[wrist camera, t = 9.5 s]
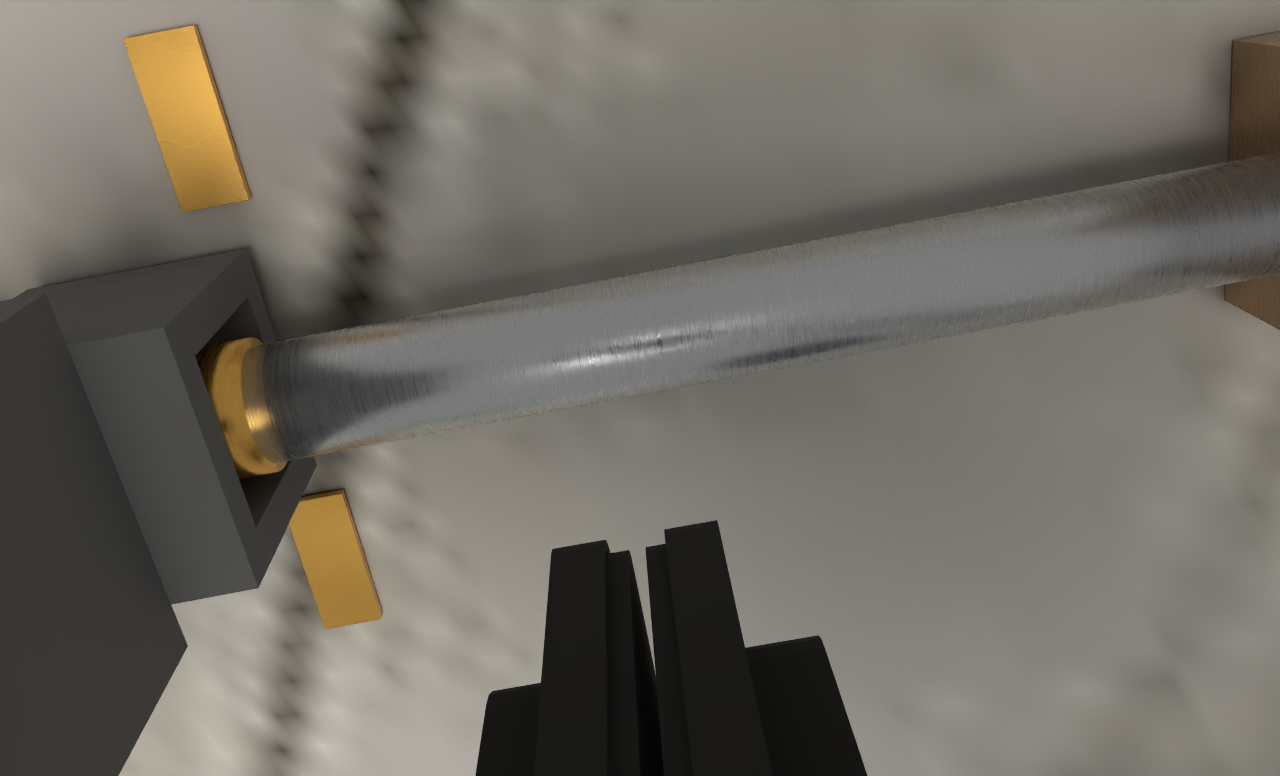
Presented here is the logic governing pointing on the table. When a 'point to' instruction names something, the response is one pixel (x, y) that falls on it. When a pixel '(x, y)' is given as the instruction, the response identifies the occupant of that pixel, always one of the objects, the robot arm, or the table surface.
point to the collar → (118, 501)
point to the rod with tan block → (702, 301)
